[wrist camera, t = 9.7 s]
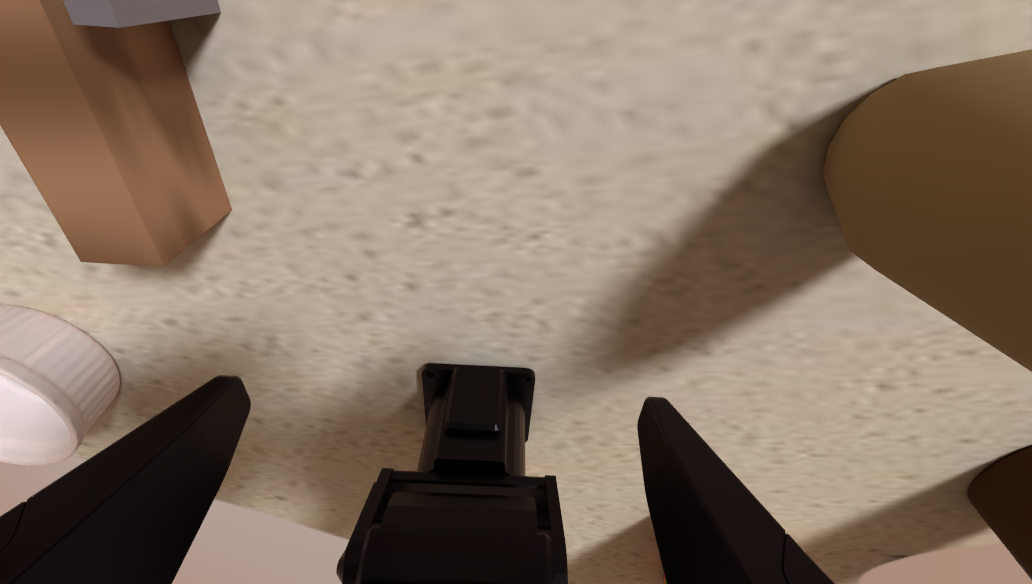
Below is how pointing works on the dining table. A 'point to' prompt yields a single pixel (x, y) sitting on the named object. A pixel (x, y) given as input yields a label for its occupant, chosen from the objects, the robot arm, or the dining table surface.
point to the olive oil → (1008, 503)
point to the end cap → (135, 11)
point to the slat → (108, 133)
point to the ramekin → (49, 386)
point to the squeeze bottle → (946, 192)
